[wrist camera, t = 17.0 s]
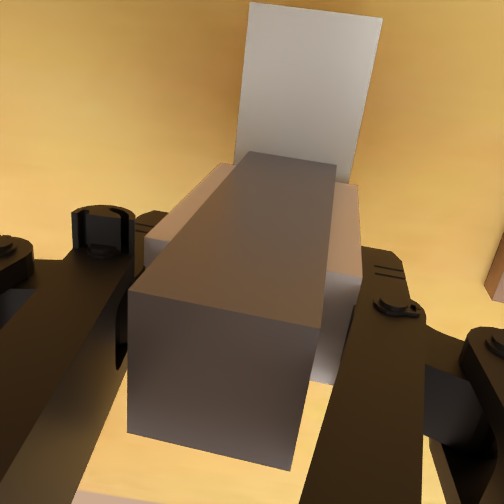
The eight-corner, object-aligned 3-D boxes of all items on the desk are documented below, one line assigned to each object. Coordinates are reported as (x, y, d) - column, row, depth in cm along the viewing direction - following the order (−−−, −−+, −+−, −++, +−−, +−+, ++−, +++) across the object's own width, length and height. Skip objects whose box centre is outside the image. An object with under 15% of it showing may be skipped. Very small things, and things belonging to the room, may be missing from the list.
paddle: (265, 6, 17) (88, -54, 6) (377, 20, 17) (442, -13, 5) (232, 294, 22) (104, 576, 11) (318, 311, 22) (281, 625, 10)
